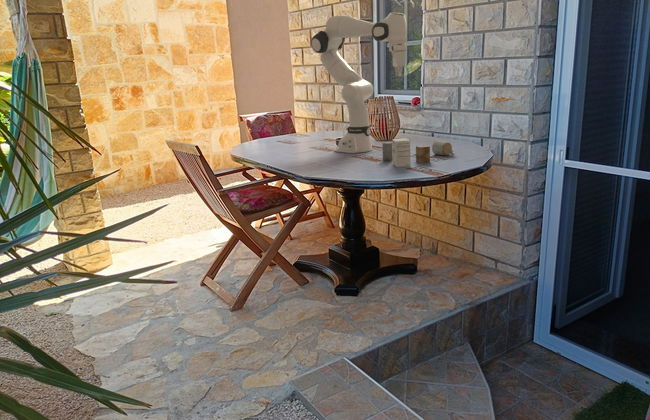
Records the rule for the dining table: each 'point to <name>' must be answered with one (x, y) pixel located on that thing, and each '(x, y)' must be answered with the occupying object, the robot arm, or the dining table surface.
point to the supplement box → (401, 152)
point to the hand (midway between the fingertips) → (398, 76)
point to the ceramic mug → (442, 148)
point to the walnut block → (423, 154)
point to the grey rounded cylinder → (387, 151)
